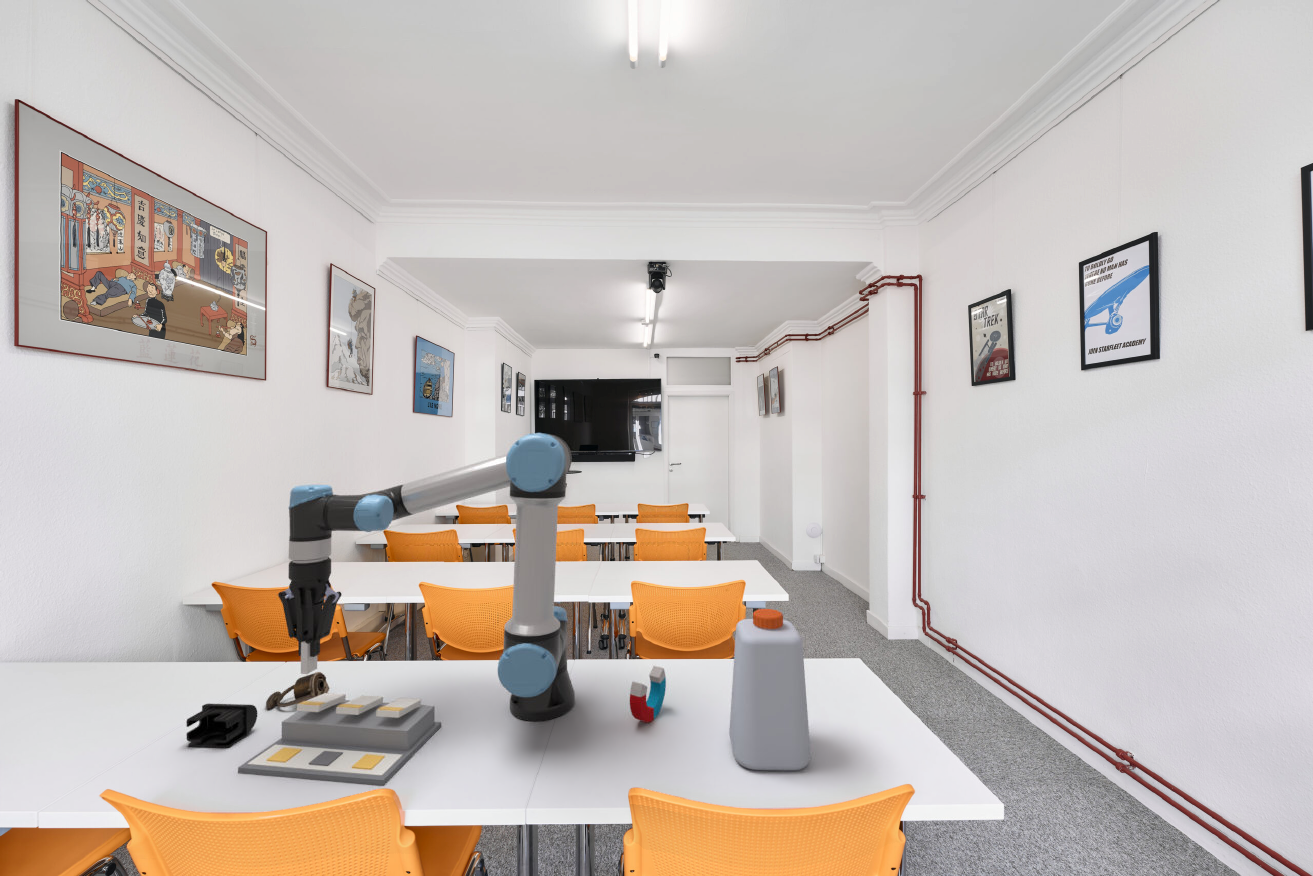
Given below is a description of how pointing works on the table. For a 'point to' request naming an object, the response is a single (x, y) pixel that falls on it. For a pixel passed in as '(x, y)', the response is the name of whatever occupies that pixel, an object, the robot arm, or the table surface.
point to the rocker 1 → (321, 702)
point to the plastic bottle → (769, 695)
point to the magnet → (656, 696)
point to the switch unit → (345, 745)
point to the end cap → (221, 725)
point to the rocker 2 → (398, 707)
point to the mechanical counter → (301, 690)
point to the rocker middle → (359, 705)
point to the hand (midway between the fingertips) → (309, 671)
